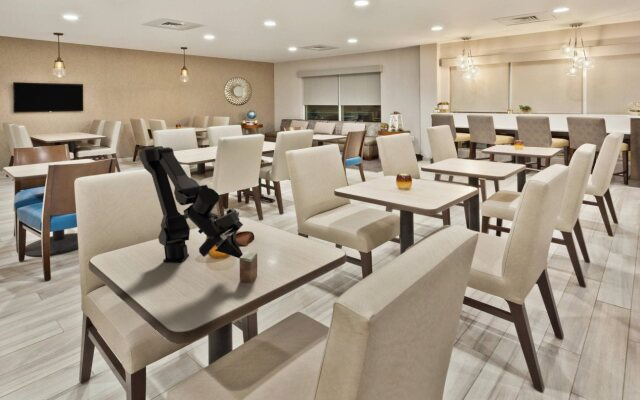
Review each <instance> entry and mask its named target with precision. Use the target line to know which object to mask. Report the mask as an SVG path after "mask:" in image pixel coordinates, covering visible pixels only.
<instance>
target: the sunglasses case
mask: <svg viewBox="0 0 640 400" xmlns="http://www.w3.org/2000/svg"><path fill="white" fill-rule="evenodd" d="M254 240H255V235H254V232H253V231H249V230H243V231H239V230H238V231H237V233H236V241H237V244H238V246H239V247H247V246H249V245H250V244H251V242H252V241H254Z"/></svg>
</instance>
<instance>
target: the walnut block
mask: <svg viewBox="0 0 640 400" xmlns="http://www.w3.org/2000/svg"><path fill="white" fill-rule="evenodd" d="M242 254H243V255H242V256H241V257H240V259H239V282H243V283H244V282H245V283H252V282H253V281H255V279H256V278H257V277H258V252H253V251H245V252H244V253H242Z"/></svg>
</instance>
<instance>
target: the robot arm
mask: <svg viewBox="0 0 640 400" xmlns="http://www.w3.org/2000/svg"><path fill="white" fill-rule="evenodd" d="M139 160H140V162H141V163H142V165H143V168H144V169H145V170H146V171H147V172H148V173H149V174H150V175H151V177H152V180H153V184H154V187H155V190H156V196H157V198H158V200H159V205H160V209H161V212H162V215H163V217H162V219H161V223H160V227H161V230H160V232H159V235H158V237H157V238H158V242H159V244H160V245H162V246H163V248H164V256H165V257H164V259H163V260H162V261H163V262H164V263H165V262H166V263H182V262H183V261H184V260H186V259H187V258H188V257H189V256H190V253H188V252H189V251H188V245H187V244H186V241H189V240H190V233H191V229H190V226H189V223H188V221H187V219H189V220H190V221H191V222H192V223H193V224H194V225H195V226H196V227H197V228H198V231H197V232H198V233H199V234H200V235H201V234H204V235H205V236H206V237H207V238H208V239H207V238H206V240H204V242H203V243H202V245H200V247H198V253H199V255H201V256H202V257H203V258H205V257H206V256H208V255H209V254H210V251H211V250H212V249H214V247H216V249H215V250H214V252H216V253H217V252H218V253H222V254H225V255H228V256H232V257H234V258H237V259H239V260H240V257H241V256H242V255H243V254H244V253H243V252H242V249H241V248H240V246H238V244H237V241H236V233H237V231H239V230H240V229H241V228H242V227H243V225H244V224H243V222H241V221H240V218H239V215H240V212H238V211H237V210H236V209H235V208H234V207H231V208H229V209H228V210H226V214H224V215H222V216H221V215H219V214H215V215H214V214H213V213H212V211H213V209H215V207H216V205H217V203H218V202H219V199H220V196H219V192H217V191H216V190H215V189H213V188H211V187H209V186H208V185H207V184H202V185H200V184H199V183H198V182H197V180H195V179H194V178H192V177H189V175H188V174H187V173H186V171H185V170H184V168H183V167H182V165H181V164H180V162H179V160H178V159H177V157H176V155H175V152H174V149H173V148H172V147H170V146H168V147H167V146H166V147H164V146H162V145H159V146H147V147H142V148H141V151H139ZM169 179H170V180H169ZM170 182H172V184H173V186H174V191H173V189H172V186H171V184H170ZM176 202H177V203H178V204H179V205H180V206H187V205H189V206H188V207H187V208H185V209H184V210H183V214H181V213H180V212H179V210H178V208H177V203H176Z"/></svg>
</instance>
